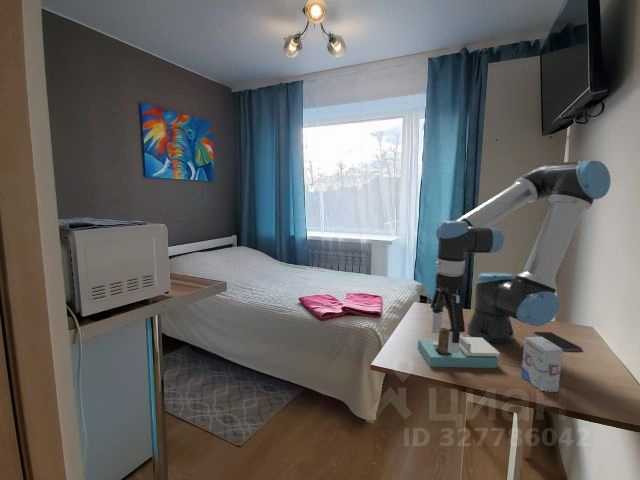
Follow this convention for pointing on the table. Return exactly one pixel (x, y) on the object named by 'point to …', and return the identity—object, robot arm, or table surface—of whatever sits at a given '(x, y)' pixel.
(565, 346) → the smartphone
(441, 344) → the peg
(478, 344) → the cover
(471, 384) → the table surface
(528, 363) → the ink box
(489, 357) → the board
